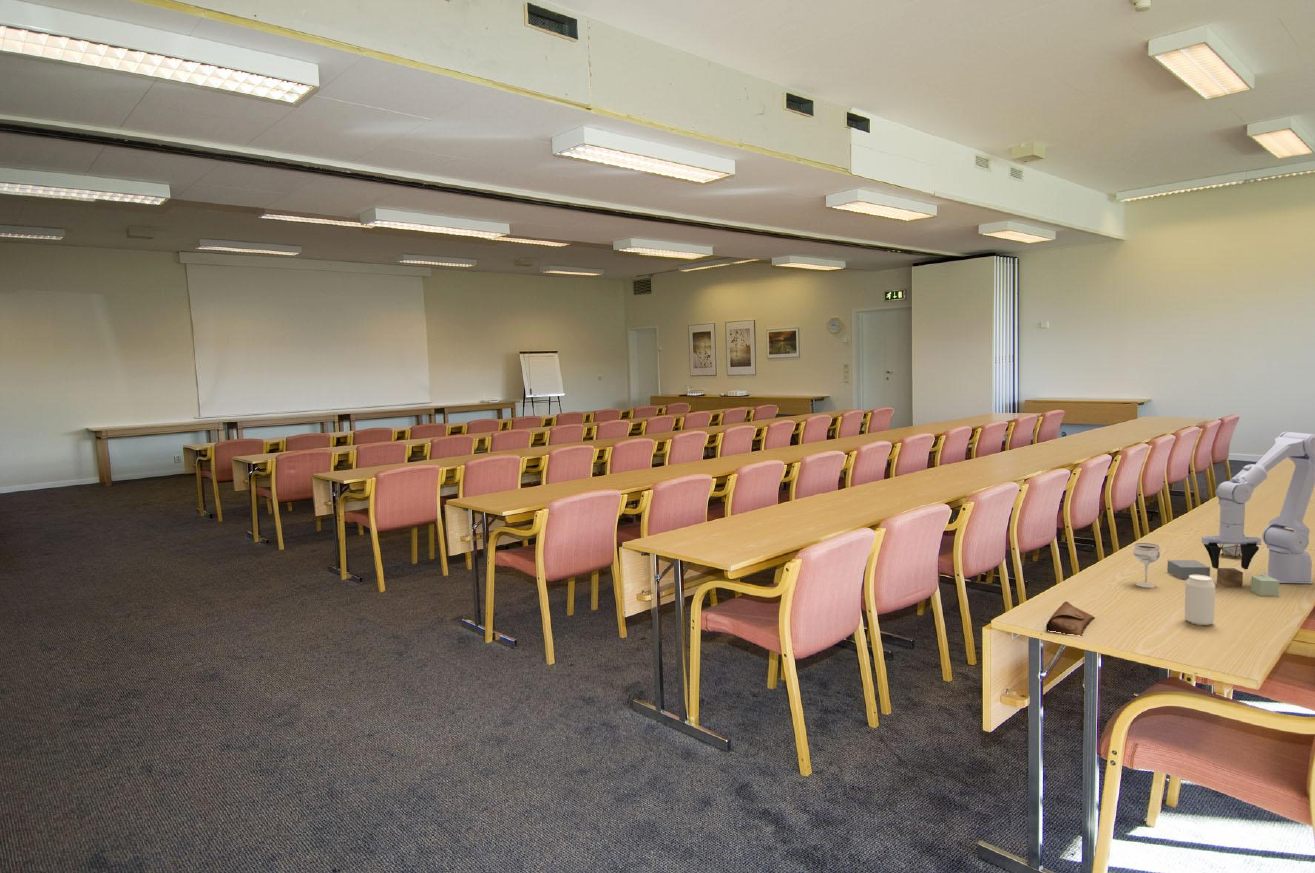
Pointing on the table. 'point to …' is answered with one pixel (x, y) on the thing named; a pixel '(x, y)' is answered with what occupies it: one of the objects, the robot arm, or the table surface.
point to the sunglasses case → (1069, 620)
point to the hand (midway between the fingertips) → (1229, 568)
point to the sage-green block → (1265, 586)
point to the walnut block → (1229, 577)
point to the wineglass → (1146, 558)
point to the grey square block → (1187, 568)
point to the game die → (1231, 549)
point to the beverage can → (1199, 600)
